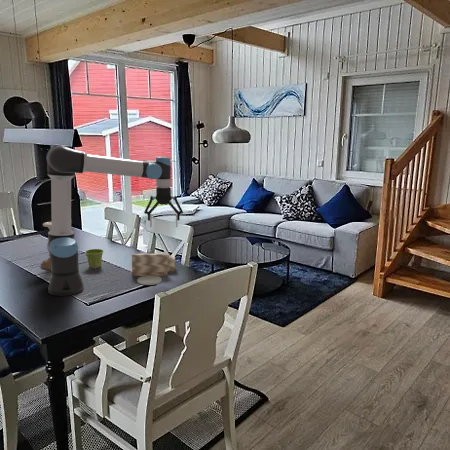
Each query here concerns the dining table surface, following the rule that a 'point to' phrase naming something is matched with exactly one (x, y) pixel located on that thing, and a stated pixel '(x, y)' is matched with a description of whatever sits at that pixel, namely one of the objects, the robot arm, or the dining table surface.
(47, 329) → the dining table surface
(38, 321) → the dining table surface
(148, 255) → the birch screen
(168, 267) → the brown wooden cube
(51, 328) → the dining table surface
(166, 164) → the robot arm
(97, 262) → the plant pot
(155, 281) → the sage mat
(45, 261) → the candle holder
